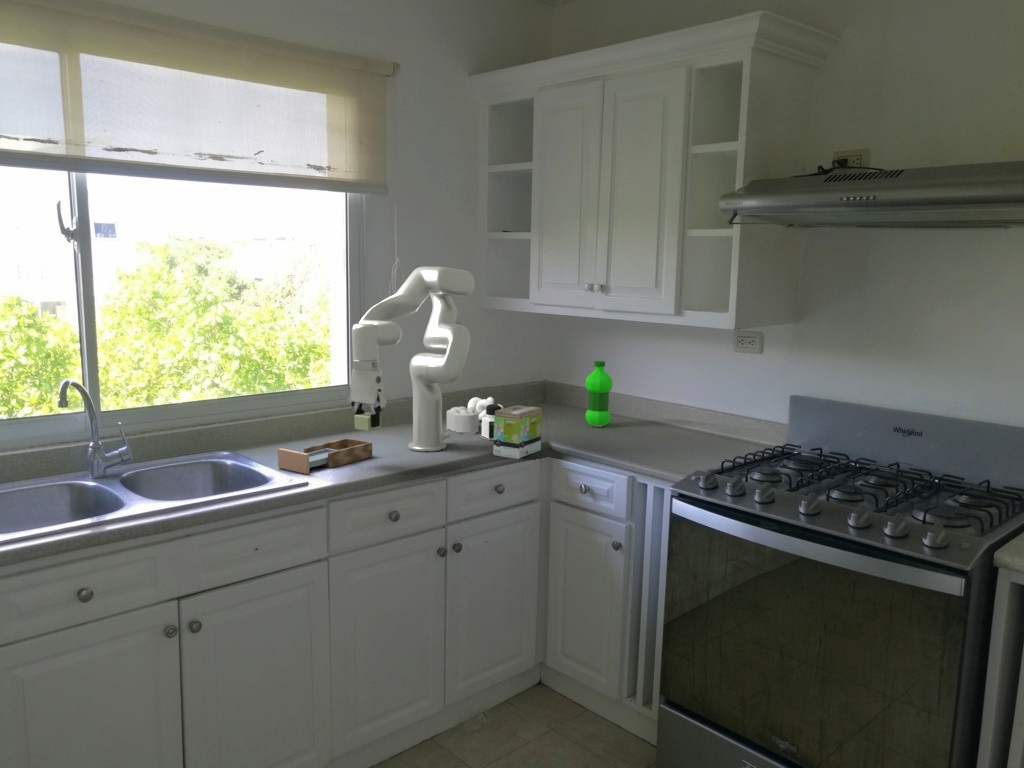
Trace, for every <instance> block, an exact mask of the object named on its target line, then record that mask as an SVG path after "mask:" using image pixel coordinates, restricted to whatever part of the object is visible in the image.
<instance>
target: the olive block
mask: <svg viewBox="0 0 1024 768" xmlns="http://www.w3.org/2000/svg"><path fill="white" fill-rule="evenodd" d="M371 414H372V412H364V413H363V414H359V415H355V414H354V416H353V417H354V419H353V420H354V421H353V422H354V429H355V430H358V431H359V430H361V431H364V432H365V431H366V432H370V431H374V430H378V429H381V428H382V414H380V426H377V427H374V428H373V427H371Z"/></svg>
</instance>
